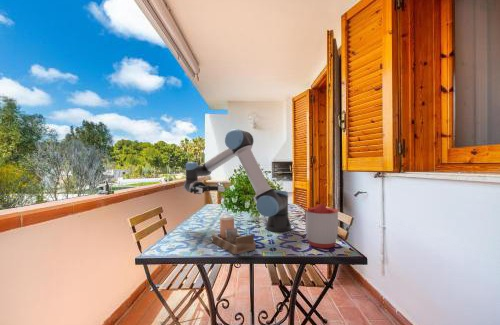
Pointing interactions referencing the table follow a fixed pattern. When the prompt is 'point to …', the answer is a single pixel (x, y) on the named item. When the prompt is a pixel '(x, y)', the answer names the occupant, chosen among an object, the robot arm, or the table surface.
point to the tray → (236, 243)
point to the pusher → (231, 234)
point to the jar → (225, 224)
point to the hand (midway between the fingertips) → (213, 190)
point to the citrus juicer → (321, 226)
